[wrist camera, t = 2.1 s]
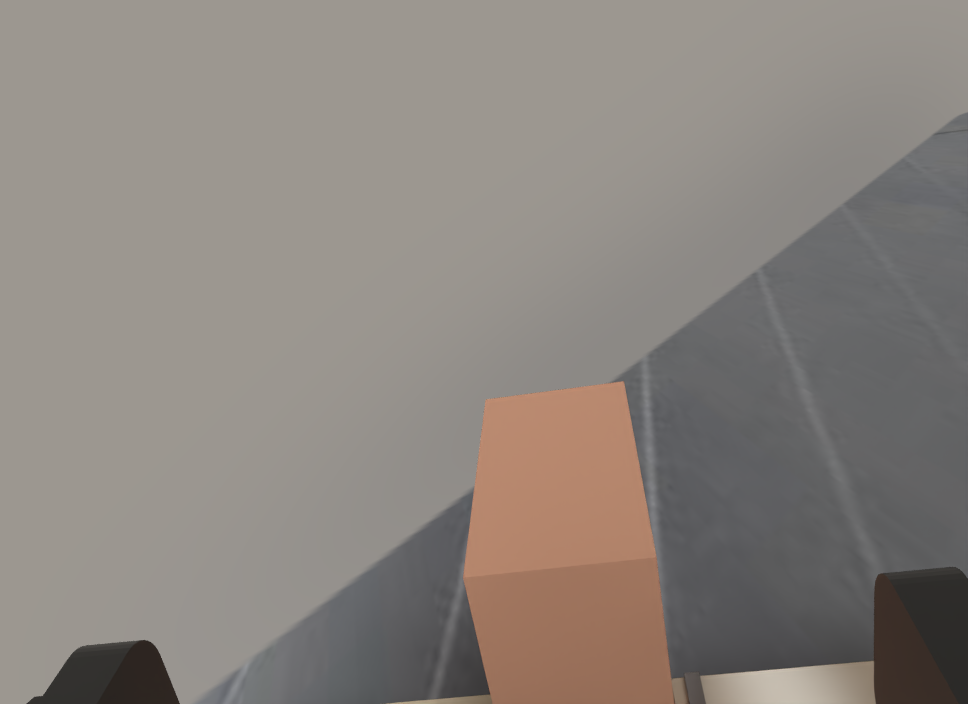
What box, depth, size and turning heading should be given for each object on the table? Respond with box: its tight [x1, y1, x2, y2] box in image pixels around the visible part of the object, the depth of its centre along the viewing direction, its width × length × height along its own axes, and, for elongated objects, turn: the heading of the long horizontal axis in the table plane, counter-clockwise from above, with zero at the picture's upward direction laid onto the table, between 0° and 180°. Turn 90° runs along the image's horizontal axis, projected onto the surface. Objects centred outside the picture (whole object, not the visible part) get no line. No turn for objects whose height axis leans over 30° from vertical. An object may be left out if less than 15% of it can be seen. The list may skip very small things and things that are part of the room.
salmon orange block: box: [463, 381, 674, 704], centre depth 25 cm, size 4×8×14 cm, turn 176°
